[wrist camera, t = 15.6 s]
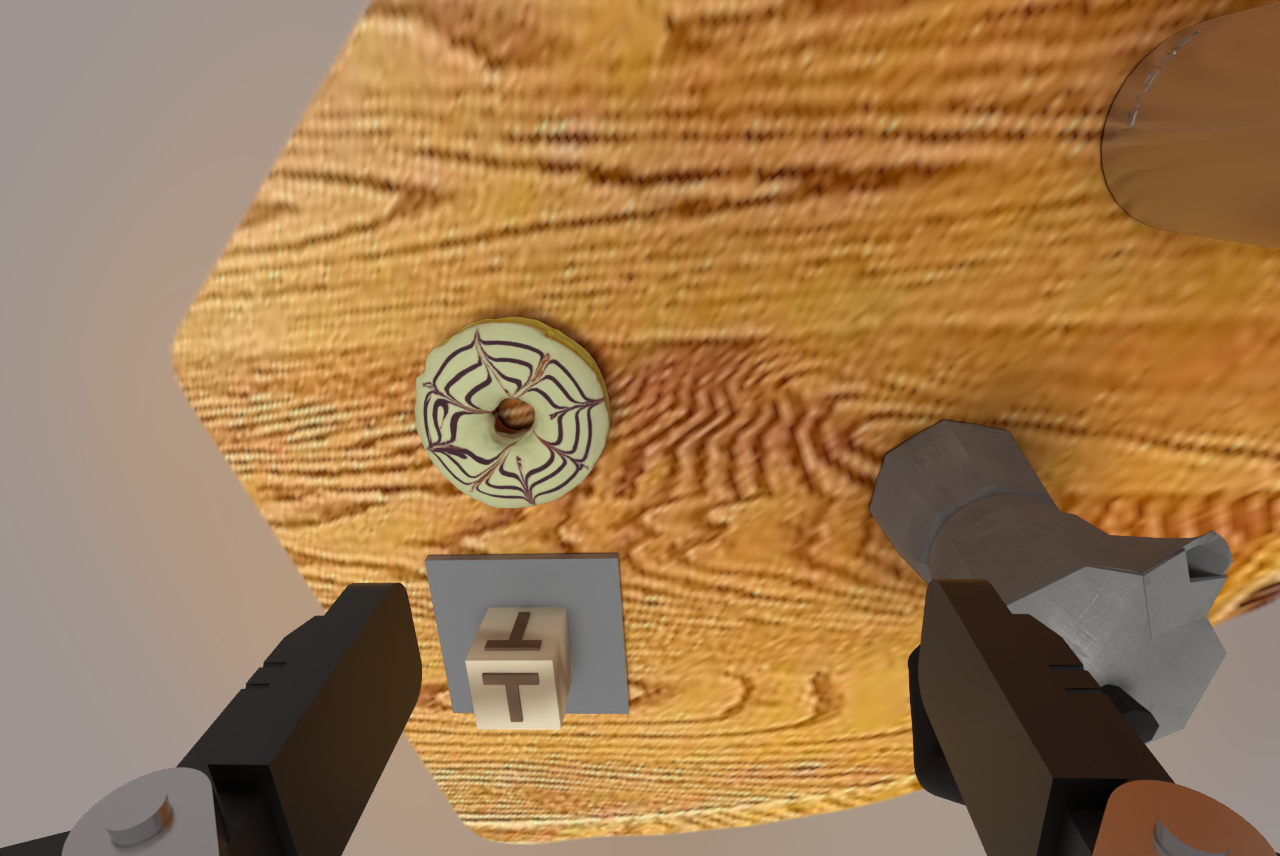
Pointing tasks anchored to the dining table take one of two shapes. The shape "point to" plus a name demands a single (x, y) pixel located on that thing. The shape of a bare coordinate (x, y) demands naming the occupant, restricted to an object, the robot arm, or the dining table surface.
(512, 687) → the letter block
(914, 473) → the coffeepot
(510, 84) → the dining table surface
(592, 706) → the slate coaster
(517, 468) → the decorated donut
